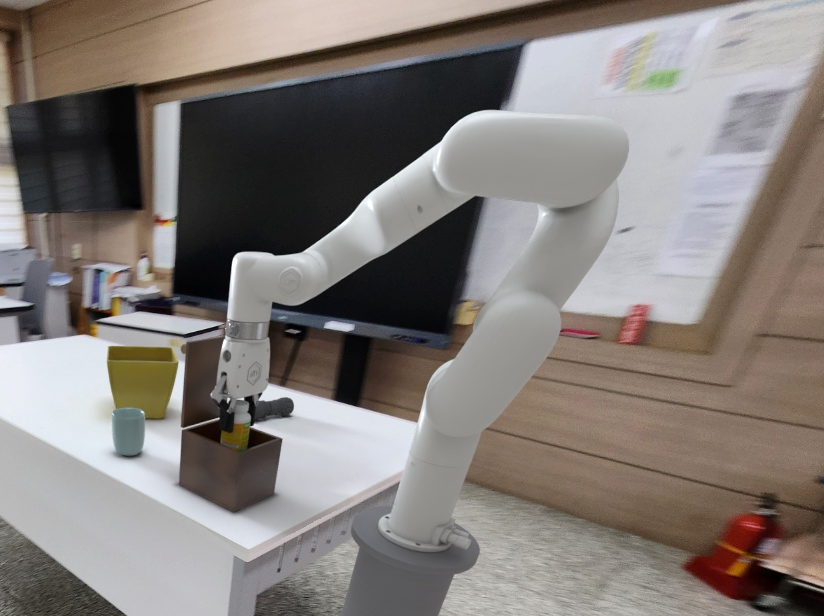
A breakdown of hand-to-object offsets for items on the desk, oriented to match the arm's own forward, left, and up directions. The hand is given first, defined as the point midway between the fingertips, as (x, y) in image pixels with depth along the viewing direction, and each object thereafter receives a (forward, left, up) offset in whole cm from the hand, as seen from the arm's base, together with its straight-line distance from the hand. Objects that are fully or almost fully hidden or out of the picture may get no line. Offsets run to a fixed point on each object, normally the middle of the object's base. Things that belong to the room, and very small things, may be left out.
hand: (236, 426), depth 101 cm
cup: (+29, +4, -14) cm, 33 cm away
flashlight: (+25, -44, -14) cm, 53 cm away
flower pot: (+51, -18, -14) cm, 56 cm away
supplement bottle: (0, 0, -5) cm, 5 cm away
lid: (+8, 0, +7) cm, 11 cm away
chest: (+1, 0, -14) cm, 14 cm away
